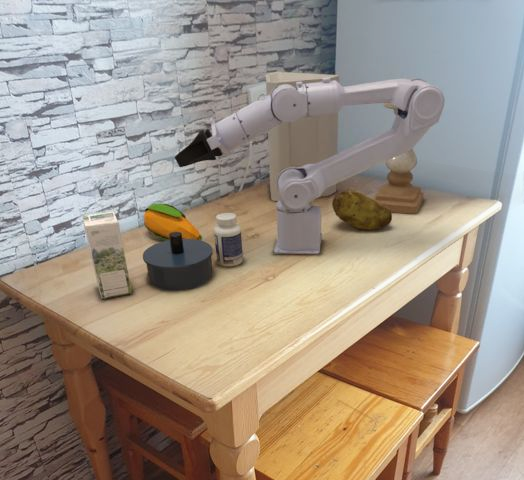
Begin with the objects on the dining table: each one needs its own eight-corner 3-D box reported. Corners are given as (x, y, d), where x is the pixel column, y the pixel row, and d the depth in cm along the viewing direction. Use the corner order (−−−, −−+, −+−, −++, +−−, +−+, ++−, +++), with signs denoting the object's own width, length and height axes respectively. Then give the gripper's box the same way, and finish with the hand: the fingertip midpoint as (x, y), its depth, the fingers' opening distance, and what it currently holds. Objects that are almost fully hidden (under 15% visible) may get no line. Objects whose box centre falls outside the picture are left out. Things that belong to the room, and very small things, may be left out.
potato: (380, 237, 122) (383, 201, 118) (327, 228, 128) (327, 193, 124) (394, 225, 128) (397, 190, 124) (342, 216, 134) (343, 183, 130)
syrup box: (127, 281, 110) (113, 209, 102) (132, 294, 105) (118, 219, 97) (98, 287, 108) (81, 214, 100) (101, 300, 103) (84, 225, 96)
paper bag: (246, 195, 151) (239, 80, 135) (279, 180, 160) (276, 71, 145) (306, 207, 141) (306, 84, 125) (337, 190, 150) (340, 75, 135)
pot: (218, 263, 115) (216, 242, 112) (204, 291, 105) (202, 268, 102) (159, 262, 117) (156, 241, 114) (140, 289, 107) (136, 267, 104)
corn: (159, 193, 130) (211, 212, 118) (165, 223, 135) (216, 246, 122) (131, 203, 127) (182, 224, 114) (139, 234, 131) (189, 258, 118)
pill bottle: (248, 259, 116) (245, 213, 111) (233, 269, 112) (229, 222, 107) (226, 254, 118) (223, 209, 113) (211, 264, 115) (206, 218, 109)
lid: (219, 243, 113) (217, 221, 111) (204, 273, 102) (201, 248, 100) (155, 243, 115) (151, 221, 112) (133, 271, 104) (129, 247, 101)
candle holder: (370, 210, 137) (376, 104, 124) (380, 196, 145) (387, 95, 132) (415, 214, 133) (427, 106, 120) (423, 199, 141) (435, 96, 128)
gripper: (236, 106, 112) (177, 139, 114) (229, 105, 98) (162, 142, 101) (252, 140, 114) (194, 171, 117) (247, 144, 101) (182, 179, 104)
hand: (180, 160), depth 109 cm, fingers open, 7 cm apart
